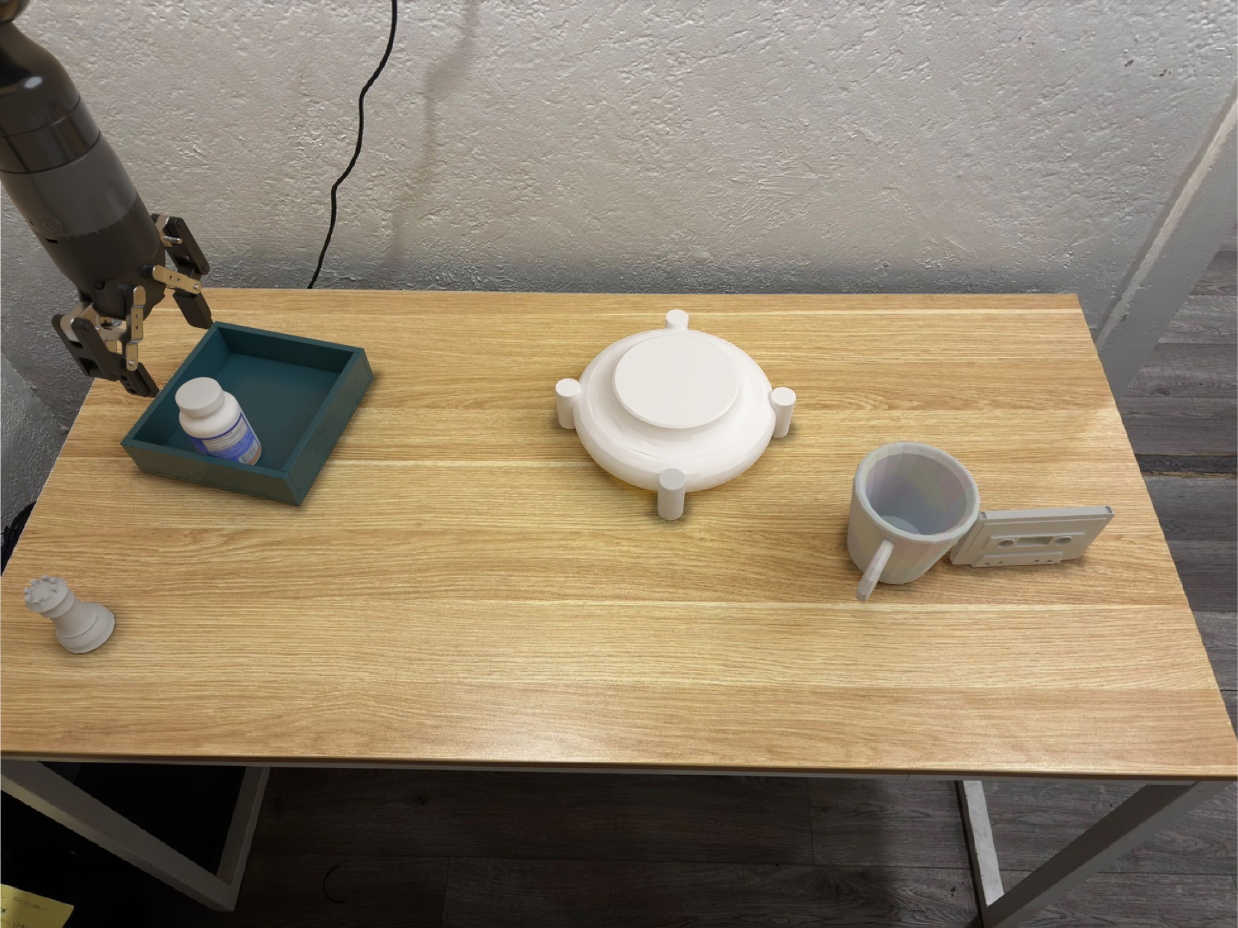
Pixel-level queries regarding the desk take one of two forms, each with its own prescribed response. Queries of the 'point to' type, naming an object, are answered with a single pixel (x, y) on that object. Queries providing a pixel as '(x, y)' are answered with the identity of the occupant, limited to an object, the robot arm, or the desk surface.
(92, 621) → the rook chess piece
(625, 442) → the round stand with pegs
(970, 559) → the cassette
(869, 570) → the mug
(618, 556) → the desk surface
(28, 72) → the robot arm
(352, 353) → the shallow teal tray
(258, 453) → the pill bottle
